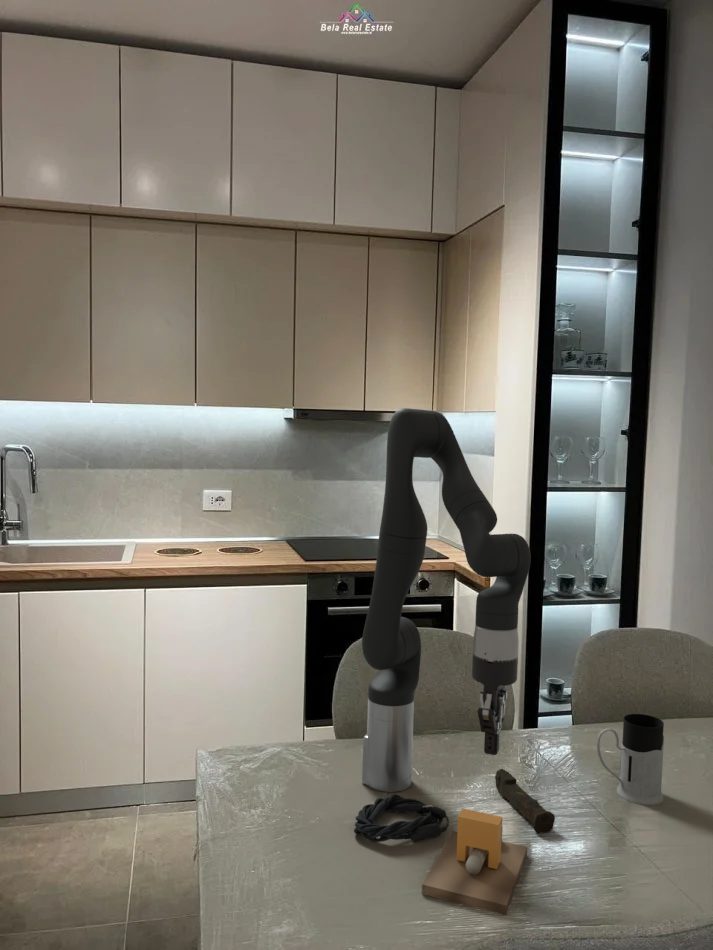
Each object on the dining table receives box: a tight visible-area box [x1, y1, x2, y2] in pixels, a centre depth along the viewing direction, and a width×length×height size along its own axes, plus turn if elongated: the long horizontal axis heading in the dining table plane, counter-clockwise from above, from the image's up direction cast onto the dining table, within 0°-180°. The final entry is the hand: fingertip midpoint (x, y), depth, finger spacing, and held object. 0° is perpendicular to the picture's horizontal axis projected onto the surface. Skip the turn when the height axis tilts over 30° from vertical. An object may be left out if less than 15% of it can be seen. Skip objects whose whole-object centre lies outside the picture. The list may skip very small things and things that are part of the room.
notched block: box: [456, 808, 503, 869], centre depth 129 cm, size 7×3×7 cm, turn 68°
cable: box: [353, 793, 450, 843], centre depth 142 cm, size 17×14×4 cm
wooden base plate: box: [421, 825, 528, 916], centre depth 128 cm, size 13×18×4 cm
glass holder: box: [596, 713, 665, 806], centre depth 157 cm, size 9×14×15 cm, turn 102°
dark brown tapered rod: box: [494, 768, 556, 834], centre depth 150 cm, size 19×4×5 cm, turn 15°
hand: (491, 752), depth 134 cm, fingers closed
